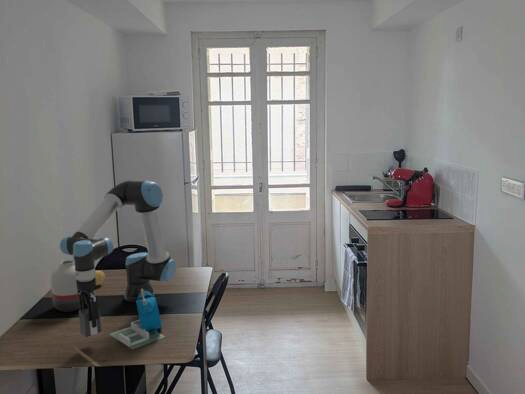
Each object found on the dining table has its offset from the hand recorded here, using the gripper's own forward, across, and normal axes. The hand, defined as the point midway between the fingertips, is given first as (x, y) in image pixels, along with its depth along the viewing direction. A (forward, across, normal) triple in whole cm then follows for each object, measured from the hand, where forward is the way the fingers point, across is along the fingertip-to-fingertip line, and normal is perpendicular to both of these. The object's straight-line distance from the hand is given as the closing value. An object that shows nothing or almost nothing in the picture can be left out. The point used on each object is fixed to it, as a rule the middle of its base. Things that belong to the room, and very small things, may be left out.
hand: (90, 331), depth 213 cm
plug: (0, 0, 0) cm, 0 cm away
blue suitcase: (+7, +5, +25) cm, 26 cm away
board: (+7, +6, +17) cm, 20 cm away
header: (+6, +9, +14) cm, 18 cm away
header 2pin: (+6, +1, +22) cm, 23 cm away
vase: (+8, -48, +12) cm, 50 cm away
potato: (+8, -69, +33) cm, 77 cm away
